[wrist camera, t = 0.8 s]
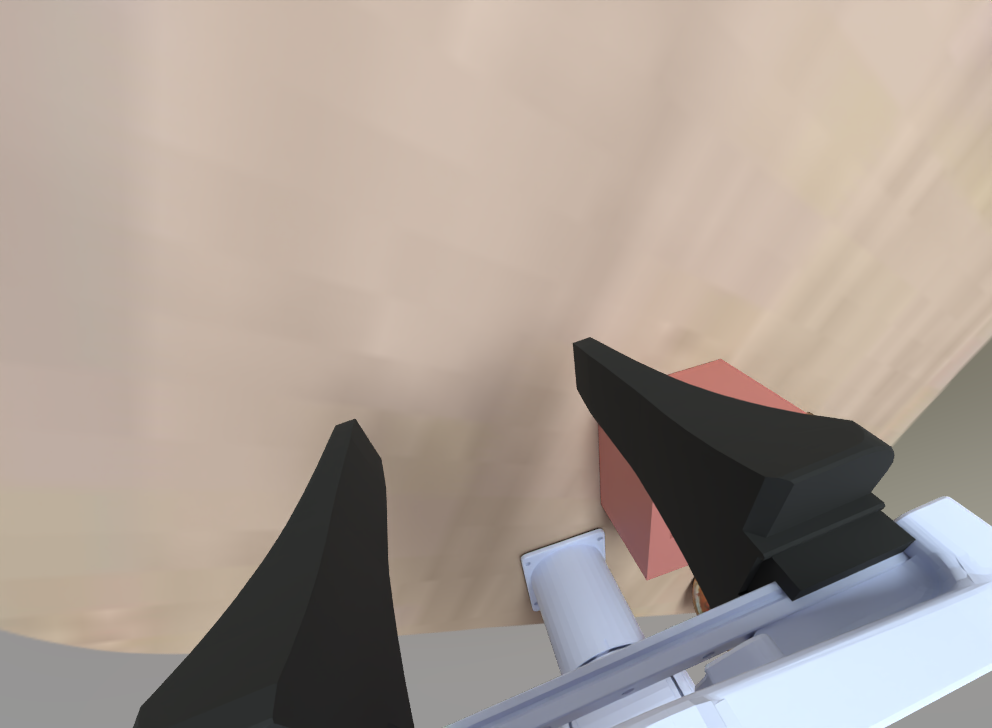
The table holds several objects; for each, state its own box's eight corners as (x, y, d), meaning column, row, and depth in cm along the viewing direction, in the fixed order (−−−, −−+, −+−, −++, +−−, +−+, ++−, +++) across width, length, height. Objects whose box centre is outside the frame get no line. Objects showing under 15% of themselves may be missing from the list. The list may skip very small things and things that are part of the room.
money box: (702, 469, 35) (766, 536, 29) (600, 504, 33) (646, 580, 28) (721, 359, 28) (808, 414, 22) (597, 396, 27) (655, 465, 21)
